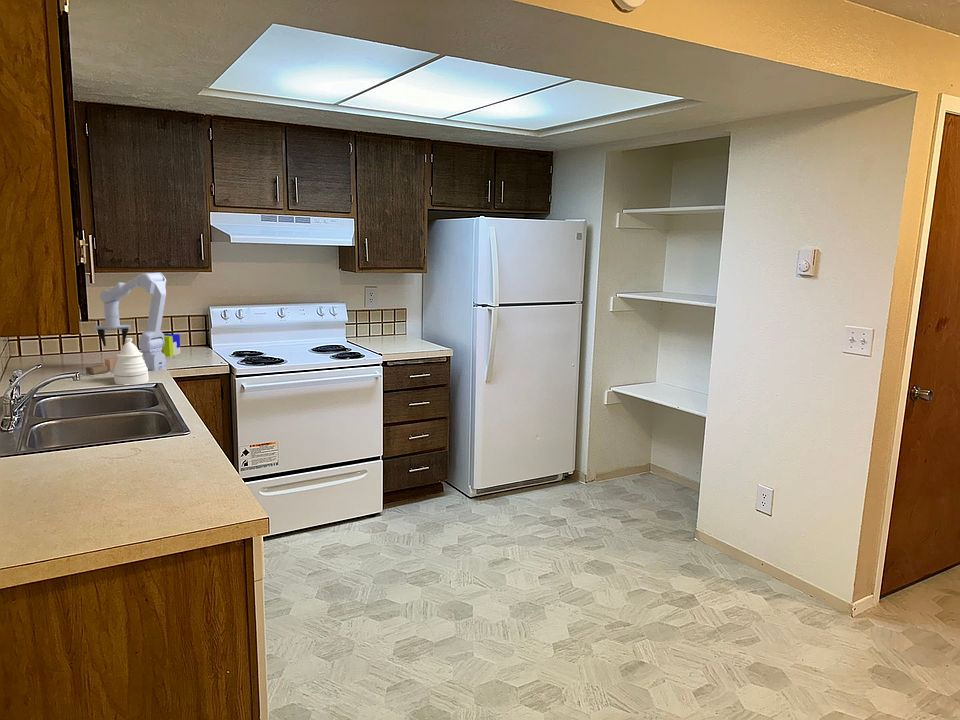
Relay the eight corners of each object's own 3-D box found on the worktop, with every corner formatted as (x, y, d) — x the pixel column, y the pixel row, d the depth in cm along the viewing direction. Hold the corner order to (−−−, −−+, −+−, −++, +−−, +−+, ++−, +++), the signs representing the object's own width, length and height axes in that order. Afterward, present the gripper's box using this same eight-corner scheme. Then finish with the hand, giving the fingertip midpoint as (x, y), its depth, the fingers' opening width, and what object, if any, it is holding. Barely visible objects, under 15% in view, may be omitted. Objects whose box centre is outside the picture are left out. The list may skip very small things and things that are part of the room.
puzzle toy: (180, 353, 349) (179, 334, 347) (169, 356, 339) (168, 337, 337) (162, 352, 350) (161, 333, 348) (151, 355, 340) (149, 336, 338)
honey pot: (115, 379, 284) (112, 337, 281) (149, 377, 290) (146, 336, 286) (113, 385, 273) (109, 342, 270) (148, 383, 278) (145, 340, 275)
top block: (119, 369, 299) (118, 358, 298) (110, 371, 296) (109, 360, 295) (114, 368, 301) (113, 357, 300) (105, 370, 298) (104, 359, 297)
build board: (132, 372, 299) (132, 369, 299) (91, 379, 284) (91, 376, 284) (116, 369, 305) (116, 366, 305) (76, 375, 290) (76, 372, 290)
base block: (107, 373, 292) (107, 366, 291) (93, 375, 287) (93, 368, 286) (99, 371, 295) (99, 364, 294) (85, 373, 290) (85, 366, 289)
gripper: (130, 314, 313) (132, 343, 315) (94, 315, 307) (97, 344, 310) (129, 316, 307) (131, 345, 309) (92, 317, 301) (95, 347, 303)
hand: (114, 345), depth 309 cm, fingers open, 7 cm apart
